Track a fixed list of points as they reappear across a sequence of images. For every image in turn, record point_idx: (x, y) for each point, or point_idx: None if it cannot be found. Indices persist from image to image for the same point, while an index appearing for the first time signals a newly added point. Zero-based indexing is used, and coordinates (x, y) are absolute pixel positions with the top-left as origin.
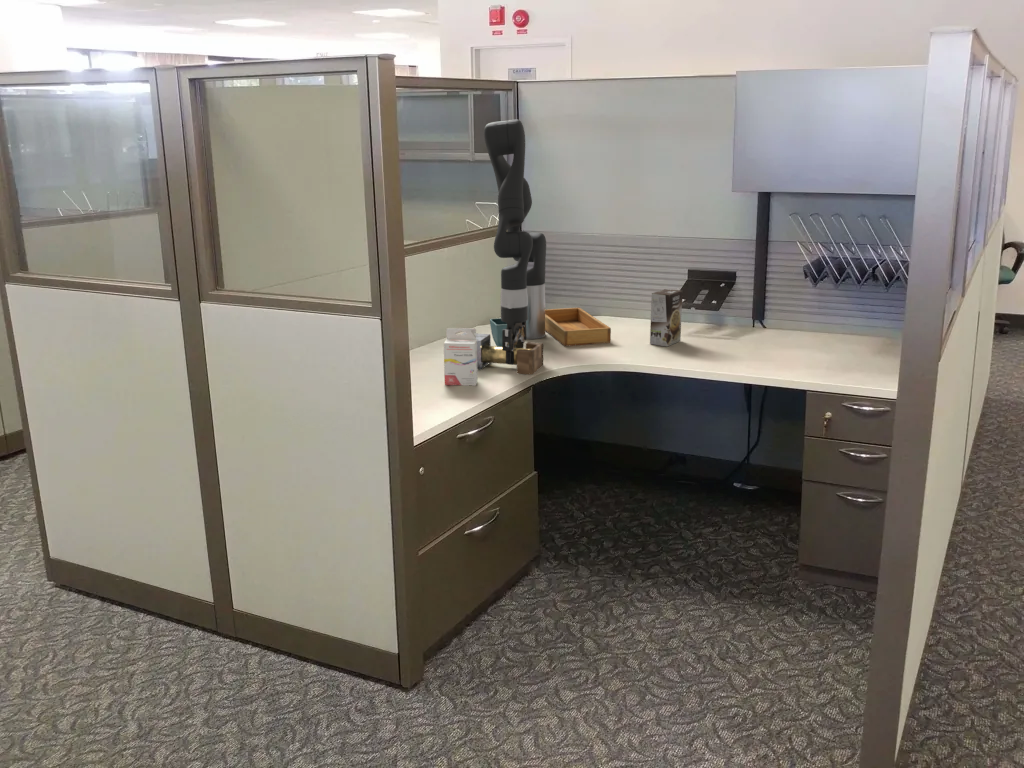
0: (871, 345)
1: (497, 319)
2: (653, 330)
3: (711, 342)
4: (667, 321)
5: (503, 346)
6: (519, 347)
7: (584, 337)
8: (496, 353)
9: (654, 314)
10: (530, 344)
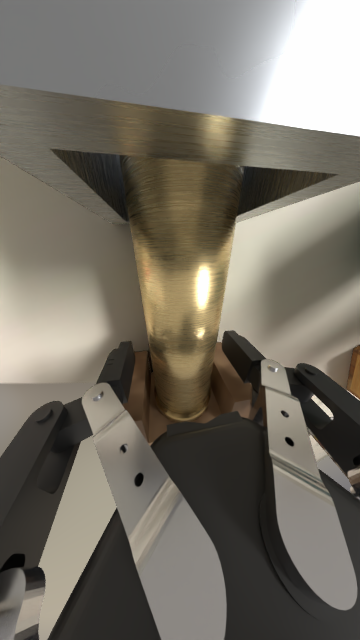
0: None
1: None
2: None
3: (312, 440)
4: (342, 470)
5: (17, 444)
6: (239, 363)
7: None
8: (145, 303)
9: None
10: (230, 410)
